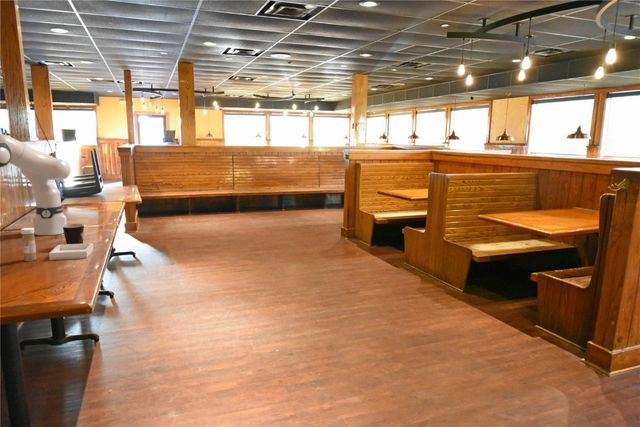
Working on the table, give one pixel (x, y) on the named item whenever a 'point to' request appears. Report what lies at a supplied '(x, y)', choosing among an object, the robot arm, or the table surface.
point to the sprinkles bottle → (28, 244)
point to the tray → (71, 251)
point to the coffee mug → (74, 233)
